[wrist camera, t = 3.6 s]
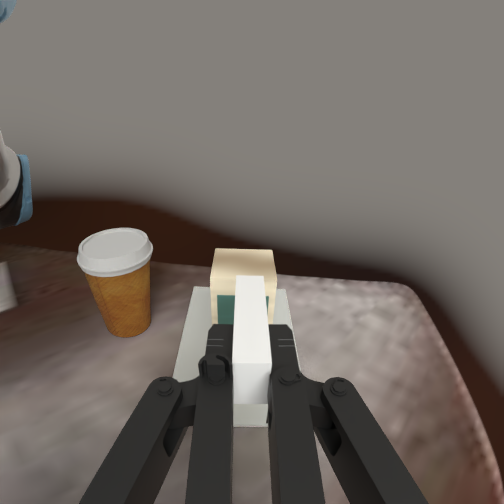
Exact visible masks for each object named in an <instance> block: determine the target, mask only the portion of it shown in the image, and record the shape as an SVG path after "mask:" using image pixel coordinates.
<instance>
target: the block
mask: <svg viewBox="0 0 504 504" xmlns="http://www.w3.org/2000/svg"><path fill="white" fill-rule="evenodd" d="M236 275H246V276H264V285H265V296H266V306H267V316H268V324H273V316H274V306H275V296H276V286H277V276H276V271H275V264H274V258H273V253H272V250H250V249H247V250H246V249H216V250H215V255H214V260H213V265H212V271H211V276H210V290H211V315H212V325H213V324H234V310H235V289H236Z"/></svg>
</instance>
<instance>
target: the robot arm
mask: <svg viewBox="0 0 504 504" xmlns="http://www.w3.org/2000/svg"><path fill="white" fill-rule="evenodd" d="M15 4H16V0H0V23H2V22H4V21H5V20H6V19H8V18H9V16H10V15H11V14H12V12H13V9H14V7H15ZM30 182H31V181H30V170H29V161H28V158H27V156H26V155H20V154H18V155H16V154H15V153H14V151H13V150H12V149H10V148H9V147H7V146H5V145H4V141H3V137H2V134H1V129H0V229H1V228H5V227H9V226H12V225H18V224H19V223H21V222H25V221H27V220H29V219H30V218H31V216H32V198H31V183H30ZM198 368H199V376H198V377H196V378H194V379H192V380H189V381H184V382H178V381H177V380H176V379H174V378H172V377H159V378H157V379H155V380H153V381H152V383H151V384H150V385H149V387H148V388H147V390H146V391H145V393H144V395H143V396H142V398H141V400H140V401H139V403H138V405H137V406H136V408H135V410H134V411H133V413H132V415H131V416H130V418H129V420H128V421H127V423H126V424H125V426H124V428H123V429H122V431H121V433H120V434H119V436H118V438H117V439H116V441H115V443H114V445H113V446H112V448H111V450H110V451H109V453H108V455H107V456H106V458H105V460H104V461H103V463H102V465H101V466H100V468H99V470H98V472H97V473H96V475H95V477H94V478H93V480H92V482H91V483H90V485H89V487H88V489H87V490H86V492H85V494H84V495H83V497H82V499H81V501H80V502H79V504H153V503H154V501H155V499H156V497H157V495H158V493H159V490H160V488H161V486H162V484H163V482H164V480H165V477H166V475H167V473H168V471H169V469H170V466H171V464H172V462H173V460H174V458H175V455H176V453H177V451H178V449H179V447H180V444H181V442H182V440H183V438H184V436H185V433H186V431H187V429H188V426H193V425H194V426H193V434H192V443H191V452H190V461H189V470H188V480H187V490H186V500H185V504H232V462H233V404H267V401H268V412H267V420H266V423H268V437H269V454H270V471H271V489H272V504H325V499H324V492H323V486H322V479H321V473H320V467H319V460H318V454H317V448H316V442H315V436H314V432H315V434H316V436H317V438H318V440H319V442H320V444H321V446H322V448H323V450H324V452H325V454H326V456H327V458H328V460H329V462H330V464H331V466H332V468H333V470H334V472H335V474H336V476H337V478H338V480H339V482H340V484H341V486H342V488H343V490H344V492H345V494H346V496H347V498H348V500H349V502H350V504H428V502H427V500H426V499H425V497H424V496H423V494H422V492H421V491H420V489H419V488H418V486H417V484H416V483H415V481H414V480H413V478H412V476H411V475H410V473H409V472H408V470H407V468H406V467H405V465H404V464H403V462H402V461H401V459H400V457H399V456H398V454H397V453H396V451H395V450H394V448H393V446H392V445H391V443H390V442H389V440H388V439H387V437H386V435H385V434H384V432H383V431H382V429H381V428H380V426H379V424H378V423H377V421H376V420H375V418H374V417H373V415H372V414H371V412H370V410H369V409H368V407H367V406H366V404H365V403H364V401H363V400H362V398H361V396H360V395H359V393H358V392H357V390H356V389H355V387H354V386H353V384H352V383H351V382H350V381H348V380H346V379H344V378H340V377H334V378H330V379H328V380H327V381H326V382H325V383H321V382H316V381H313V380H310V379H308V378H306V377H305V376H304V375H303V374H302V373H301V372H300V369H299V364H298V359H297V353H296V348H295V342H294V337H293V332H292V330H291V329H290V328H289V326H288V325H287V324H268V316H267V306H266V296H265V285H264V276H246V275H236V289H235V310H234V324H213V325H212V327H211V328H210V329H209V330H208V337H207V344H206V351H205V356H203V357H202V358H201V359H200V360H199V363H198Z"/></svg>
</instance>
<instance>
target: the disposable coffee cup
mask: <svg viewBox="0 0 504 504" xmlns="http://www.w3.org/2000/svg"><path fill="white" fill-rule="evenodd" d="M152 251H153V246H152V244H151V242H150V241H149V240H148V237H147V235H146V233H144V232H143V231H141V230H138V229H133V228H115V229H108V230H104V231H101V232H98V233H95V234H93V235H91V236H89V237H87V238H86V239H85V240H83V241H82V242H81V244H80V246H79V254H78V256H77V262H78V264H79V266H80V267H81V268H82V270H83V271H84V273H85V276H86V278H87V281H88V284H89V286H90V289H91V291H92V293H93V296H94V298H95V301H96V303H97V305H98V308H99V310H100V312H101V315H102V317H103V319H104V321H105V324H106V326H107V328H108V330H109V331H110V333H112V334H113V335H115V336H119V337H133V336H136V335H138V334H141V333H142V332H144V331H145V330H146V329H147V328H148V327H149V325H150V323H151V314H150V257H151V254H152Z"/></svg>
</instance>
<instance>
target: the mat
mask: <svg viewBox="0 0 504 504" xmlns="http://www.w3.org/2000/svg"><path fill="white" fill-rule="evenodd" d="M273 324H287V325H288V326H289V328H290V329H291V330H292V332H293V327H292V321H291V316H290V311H289V306H288V300H287V295H286V290H285V289H276V296H275V306H274V316H273ZM211 327H212V315H211V290H210V287H194V289H193V293H192V297H191V301H190V305H189V309H188V313H187V317H186V322H185V326H184V330H183V334H182V338H181V343H180V347H179V351H178V356H177V360H176V365H175V369H174V374H173V378H174V379H176V380H177V381H178V382H184V381H189V380H192V379H194V378H196V377H198V376H199V368H198V363H199V360H200V359H201V358H202V357H203V356H205V351H206V344H207V337H208V330H209V329H210V328H211ZM293 337H294V332H293ZM294 342H295V337H294ZM295 348H296V343H295ZM296 353H297V348H296ZM297 359H298V354H297ZM298 364H299V359H298ZM299 369H300V365H299ZM300 372H301V370H300ZM267 412H268V401H267V404H233V427H268V423H266V420H267Z"/></svg>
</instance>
